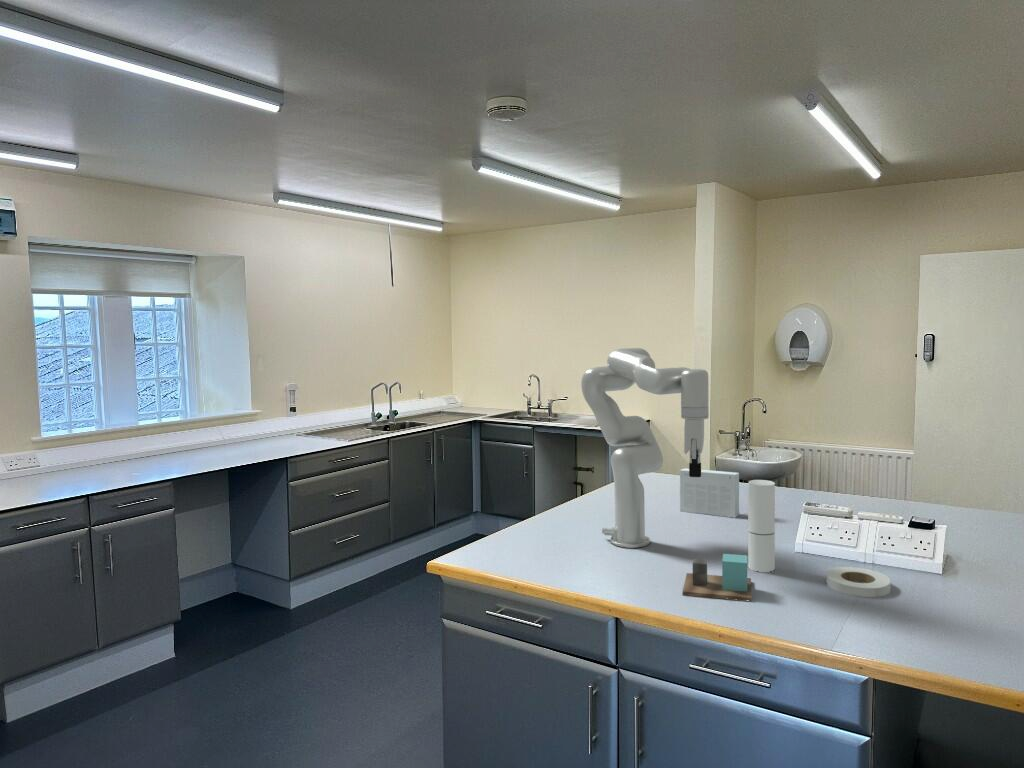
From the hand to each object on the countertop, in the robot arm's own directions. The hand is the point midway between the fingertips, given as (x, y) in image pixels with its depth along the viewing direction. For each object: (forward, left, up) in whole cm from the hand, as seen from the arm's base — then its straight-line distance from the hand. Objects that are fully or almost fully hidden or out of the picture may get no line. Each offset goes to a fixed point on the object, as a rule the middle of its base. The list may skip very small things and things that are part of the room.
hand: (695, 476), depth 199 cm
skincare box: (+1, +62, -27) cm, 68 cm away
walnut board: (+7, -14, -27) cm, 31 cm away
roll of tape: (+42, -3, -28) cm, 50 cm away
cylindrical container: (+18, +5, -27) cm, 33 cm away
